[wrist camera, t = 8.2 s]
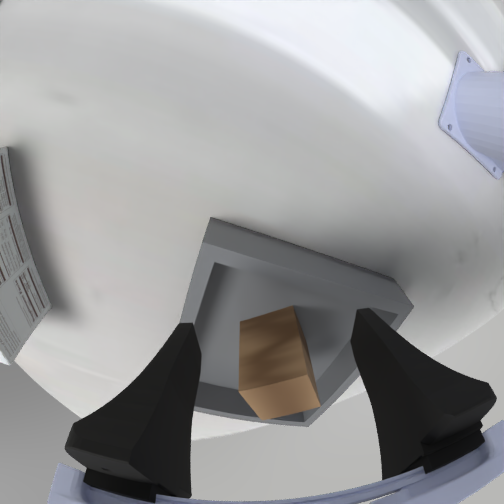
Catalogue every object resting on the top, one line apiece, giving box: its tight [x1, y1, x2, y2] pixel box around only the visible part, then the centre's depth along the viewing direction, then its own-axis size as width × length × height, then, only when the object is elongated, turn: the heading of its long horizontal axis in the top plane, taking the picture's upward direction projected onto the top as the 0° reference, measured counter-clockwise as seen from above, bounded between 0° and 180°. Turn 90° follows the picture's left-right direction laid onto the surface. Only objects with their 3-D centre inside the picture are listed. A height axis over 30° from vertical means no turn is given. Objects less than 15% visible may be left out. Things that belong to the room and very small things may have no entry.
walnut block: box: [238, 305, 321, 420], centre depth 20 cm, size 4×4×7 cm
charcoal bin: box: [180, 217, 414, 427], centre depth 22 cm, size 16×18×4 cm
